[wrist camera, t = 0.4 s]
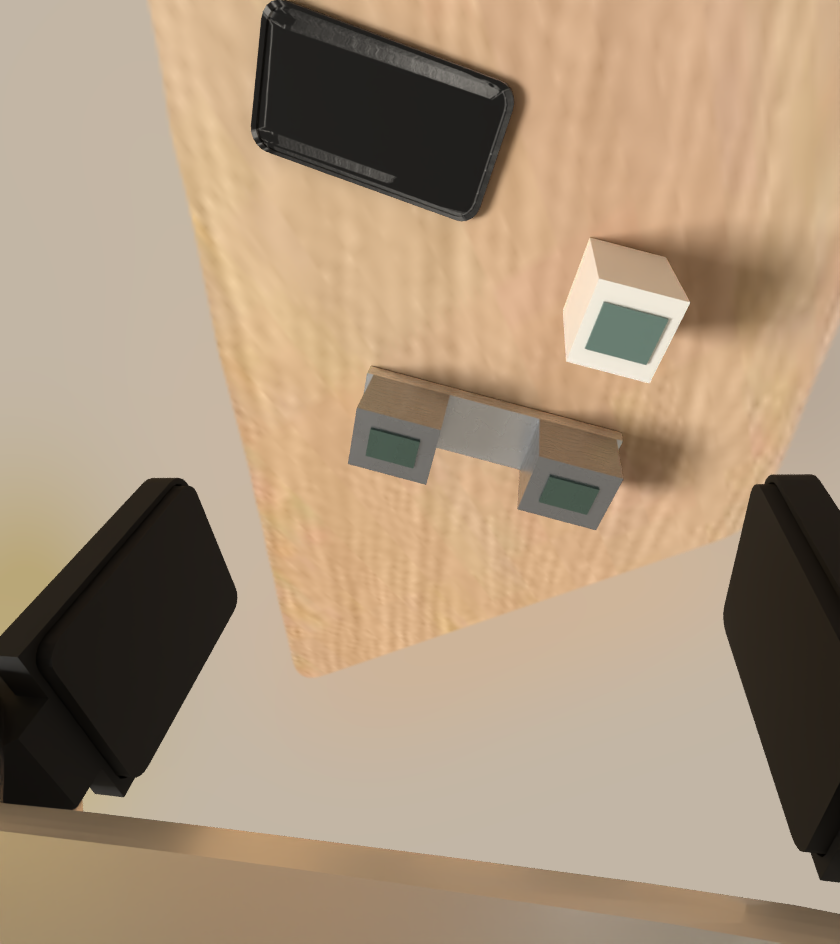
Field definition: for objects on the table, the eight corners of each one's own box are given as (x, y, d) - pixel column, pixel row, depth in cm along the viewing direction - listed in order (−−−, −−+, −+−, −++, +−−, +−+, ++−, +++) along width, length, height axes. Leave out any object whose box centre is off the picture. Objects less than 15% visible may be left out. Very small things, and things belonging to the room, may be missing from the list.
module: (589, 237, 38) (599, 279, 31) (665, 257, 38) (691, 303, 31) (562, 310, 41) (566, 362, 34) (633, 328, 41) (649, 384, 34)
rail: (370, 365, 46) (349, 407, 41) (621, 432, 46) (631, 482, 41) (361, 418, 49) (340, 463, 44) (596, 481, 49) (602, 533, 44)
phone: (263, -8, 33) (519, 88, 33) (271, -6, 33) (520, 87, 34) (248, 147, 37) (472, 228, 38) (255, 144, 38) (474, 223, 39)
